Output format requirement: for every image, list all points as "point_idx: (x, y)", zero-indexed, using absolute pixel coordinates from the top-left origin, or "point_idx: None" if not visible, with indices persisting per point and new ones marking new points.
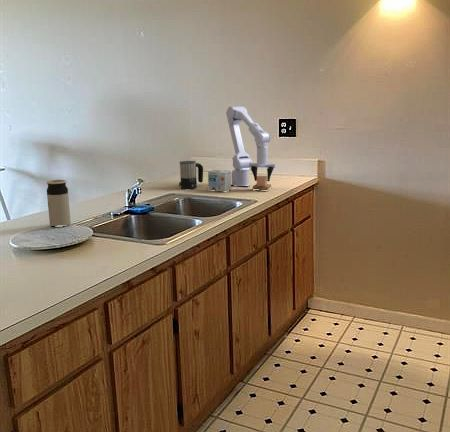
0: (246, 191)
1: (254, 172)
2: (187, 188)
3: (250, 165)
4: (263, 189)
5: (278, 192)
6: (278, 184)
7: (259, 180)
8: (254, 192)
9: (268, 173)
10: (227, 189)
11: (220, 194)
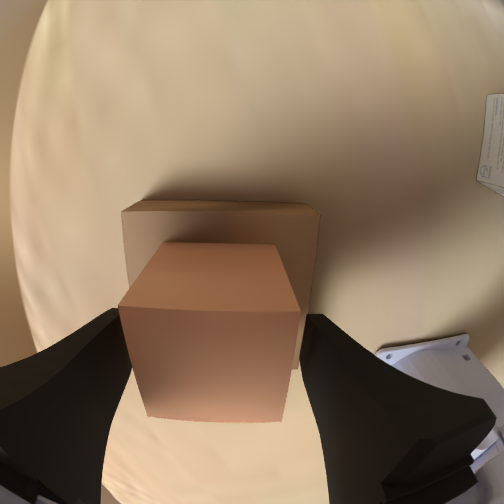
0: (361, 154)
1: (378, 387)
2: None
3: (498, 485)
4: (177, 203)
5: (43, 194)
6: (180, 455)
7: (235, 275)
8: (264, 113)
9: (43, 367)
10: (496, 124)
11: (481, 30)
